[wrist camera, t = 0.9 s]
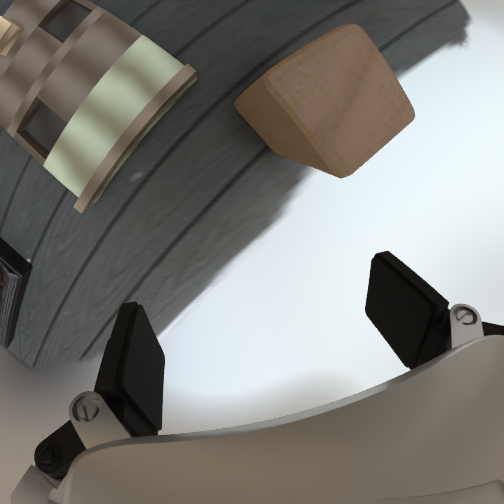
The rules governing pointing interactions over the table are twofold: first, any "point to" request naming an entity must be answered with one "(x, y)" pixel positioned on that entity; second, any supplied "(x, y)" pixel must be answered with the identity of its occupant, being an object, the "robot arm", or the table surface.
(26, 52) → the board
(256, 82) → the block
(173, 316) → the table surface
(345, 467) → the robot arm
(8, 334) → the food platter
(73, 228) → the table surface
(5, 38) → the birch block
